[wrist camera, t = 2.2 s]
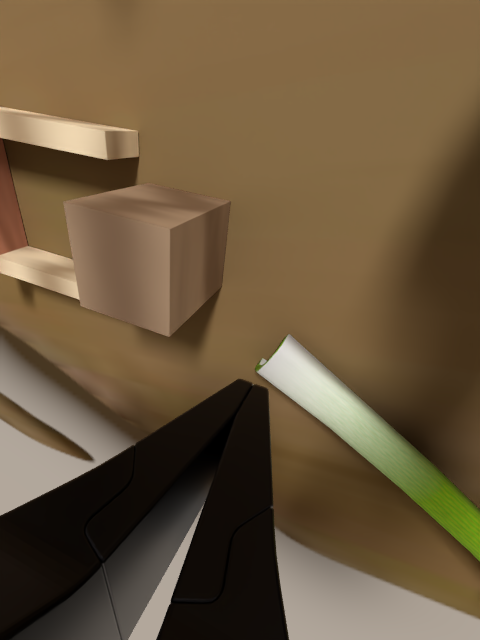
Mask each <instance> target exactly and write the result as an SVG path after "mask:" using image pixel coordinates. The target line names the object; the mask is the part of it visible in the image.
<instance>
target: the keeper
mask: <svg viewBox="0 0 480 640" xmlns="http://www.w3.org/2000/svg"><path fill="white" fill-rule="evenodd" d="M63 203H64V209H65V215H66V221H67V227H68V233H69V239H70V245H71V251H72V257H73V263H74V269H75V275H76V281H77V287H78V293H79V299H80V305H81V306H82V307H85V308H87V309H90V310H93V311H96V312H99V313H102V314H105V315H108V316H110V317H113V318H116V319H119V320H122V321H125V322H128V323H131V324H133V325H136V326H139V327H142V328H145V329H148V330H151V331H153V332H156V333H159V334H162V335H165V336H168V337H170V336H171V335H172V334H173V333H174V332H175V331H176V330H177V329H178V328H179V327H180V326H181V325H182V324H183V323H184V322H185V321H187V320H188V319H189V318H190V317H191V316H192V315H193V314H194V313H195V312H196V311H197V310H198V309H199V308H200V307H201V306H202V305H203V304H204V303H205V302H206V301H207V300H208V299H209V298H210V297H211V296H212V295H213V294H214V293H216V292H217V291H218V290H219V289H220V288H221V287H222V280H223V270H224V261H225V251H226V242H227V232H228V223H229V213H230V204H231V201H228V200H223V199H219V198H214V197H210V196H205V195H201V194H196V193H192V192H187V191H183V190H178V189H174V188H169V187H165V186H160V185H156V184H151V183H145V184H141V185H136V186H132V187H127V188H123V189H118V190H114V191H109V192H105V193H100V194H96V195H91V196H86V197H82V198H77V199H73V200H68V201H64V202H63Z"/></svg>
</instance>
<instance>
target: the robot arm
mask: <svg viewBox="0 0 480 640" xmlns="http://www.w3.org/2000/svg"><path fill="white" fill-rule="evenodd" d="M205 500H206V501H205ZM204 502H205V503H204ZM203 504H204V507H203V509H202V512H201V515H200V518H199V521H198V524H197V526H196V529H195V532H194V535H193V538H192V541H191V544H190V547H189V550H188V552H187V555H186V558H185V561H184V564H183V567H182V570H181V573H180V575H179V578H178V581H177V584H176V587H175V589H174V592H173V595H172V598H171V604H170V605H169V607H168V610H167V612H166V615H165V618H164V621H163V624H162V626H161V629H160V631H159V634H158V637H157V639H156V640H289V637H288V630H287V624H286V618H285V611H284V606H283V599H282V593H281V586H280V579H279V571H278V563H277V556H276V543H275V529H274V510H273V487H272V463H271V439H270V415H269V391H268V389H267V388H265V387H262V386H260V385H257V384H254V385H253V384H252V383H251V382H249V381H246V380H243V379H238V380H236V381H234V382H233V383H231V384H230V385H228V386H226V387H225V388H223V389H222V390H220V391H218V392H217V393H215V394H214V395H212V396H210V397H209V398H207V399H206V400H204V401H203V402H201V403H199V404H198V405H196V406H195V407H193V408H191V409H190V410H188V411H187V412H185V413H183V414H182V415H180V416H179V417H177V418H175V419H174V420H172V421H171V422H169V423H167V424H166V425H164V426H163V427H161V428H159V429H158V430H156V431H155V432H153V433H152V434H150V435H148V436H147V437H145V438H144V439H142V440H141V441H139V442H137V443H136V445H135V446H134V445H132V446H131V447H129V448H127V449H126V450H124V451H123V452H121V453H119V454H118V455H116V456H114V457H113V458H111V459H109V460H108V461H106V462H105V463H103V464H101V465H99V466H97V467H96V468H94V469H92V470H90V471H88V472H86V473H84V474H82V475H81V476H79V477H77V478H75V479H73V480H71V481H69V482H67V483H65V484H63V485H61V486H59V487H57V488H55V489H53V490H51V491H49V492H47V493H45V494H43V495H41V496H39V497H37V498H35V499H33V500H31V501H29V502H27V503H25V504H23V505H21V506H19V507H17V508H15V509H13V510H11V511H9V512H8V513H5V514H3V515H1V516H0V640H128V638H129V637H130V635H131V633H132V631H133V629H134V627H135V626H136V624H137V622H138V620H139V619H140V617H141V615H142V613H143V611H144V610H145V608H146V606H147V604H148V602H149V601H150V599H151V597H152V595H153V594H154V592H155V590H156V588H157V586H158V585H159V583H160V581H161V579H162V577H163V576H164V574H165V572H166V570H167V568H168V567H169V565H170V563H171V561H172V559H173V558H174V556H175V554H176V552H177V551H178V549H179V547H180V545H181V543H182V542H183V540H184V538H185V536H186V534H187V533H188V531H189V529H190V527H191V525H192V524H193V522H194V520H195V518H196V516H197V515H198V513H199V511H200V509H201V507H202V506H203Z"/></svg>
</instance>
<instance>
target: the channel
mask: <svg viewBox="0 0 480 640" xmlns="http://www.w3.org/2000/svg"><path fill="white" fill-rule="evenodd" d="M2 138H4V139H9V140H14V141H19V142H24V143H28V144H33V145H38V146H43V147H48V148H52V149H57V150H62V151H67V152H71V153H76V154H81V155H86V156H91V157H95V158H100V159H105V160H112V159H121V158H131V157H139V143H138V131H134V130H129V129H123V128H118V127H112V126H106V125H101V124H95V123H90V122H84V121H78V120H73V119H67V118H62V117H56V116H50V115H45V114H39V113H33V112H28V111H22V110H17V109H11V108H5V107H0V273H3V274H6V275H9V276H12V277H14V278H17V279H20V280H23V281H26V282H29V283H32V284H35V285H38V286H41V287H44V288H47V289H50V290H53V291H56V292H59V293H61V294H64V295H67V296H70V297H73V298H76V299H79V293H78V287H77V281H76V275H75V269H74V263H73V259H69V258H66V257H63V256H59V255H56V254H53V253H50V252H46V251H43V250H40V249H37V248H33V247H30V246H28V243H27V239H26V235H25V231H24V227H23V223H22V218H21V214H20V210H19V206H18V202H17V198H16V194H15V189H14V185H13V181H12V177H11V173H10V169H9V165H8V160H7V156H6V152H5V148H4V144H3V140H2ZM79 300H80V299H79Z"/></svg>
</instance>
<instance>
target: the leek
mask: <svg viewBox="0 0 480 640" xmlns="http://www.w3.org/2000/svg"><path fill="white" fill-rule="evenodd" d="M255 370H256V372H257V373H258V374H260V375H261V376H262V377H264V378H265V379H266V380H268V381H269V382H270V383H271V384H273V385H274V386H275V387H277V388H278V389H279V390H281V391H282V392H283V393H285V394H286V395H287V396H288V397H290V398H291V399H292V400H294V401H295V402H296V403H298V404H299V405H300V406H302V407H303V408H304V409H305V410H307V411H308V412H309V413H311V414H312V415H313V416H315V417H316V418H317V419H319V420H320V421H321V422H323V423H324V424H325V425H326V426H328V427H329V428H330V429H331V430H333V431H334V432H335V433H336V434H337V435H338V436H340V437H341V438H342V439H343V440H344V441H346V442H347V443H348V444H349V445H350V446H351V447H353V448H354V449H355V450H356V451H357V452H358V453H360V454H361V455H362V456H363V457H364V458H366V459H367V460H368V461H369V462H370V463H371V464H373V465H374V466H375V467H376V468H377V469H378V470H380V471H381V472H382V473H383V474H384V475H386V476H387V477H388V478H389V479H390V480H391V481H393V482H394V483H395V484H396V485H397V486H398V487H400V488H401V489H402V490H403V491H404V492H405V493H406V494H407V495H409V496H410V497H411V498H412V499H413V500H414V501H415V502H416V503H417V504H418V505H419V506H421V507H422V508H423V509H424V510H425V511H426V512H427V513H428V514H429V515H430V516H431V517H433V518H434V519H435V520H436V521H437V522H438V523H439V524H440V525H441V526H442V527H443V528H445V529H446V530H447V531H448V532H449V533H450V534H451V535H452V536H453V537H454V538H455V539H457V540H458V541H459V542H460V543H461V544H462V545H463V546H464V547H465V548H466V549H467V550H469V551H470V552H471V553H472V554H473V555H474V557H475V558H476V559H477V560H478V561H479V562H480V510H479V509H478V508H477V507H476V506H475V505H474V504H473V503H472V502H471V501H470V500H469V499H468V498H467V497H466V496H465V495H464V494H463V493H462V492H461V491H460V490H459V489H458V488H457V487H456V486H455V485H454V484H453V483H452V482H451V481H450V480H449V479H448V478H447V477H446V476H445V475H444V474H443V473H442V472H441V471H439V470H438V469H437V468H436V467H435V466H434V465H433V464H432V463H431V462H430V461H429V460H428V459H427V458H426V457H425V456H424V455H422V454H421V453H420V452H419V451H418V450H417V449H416V448H415V447H414V446H412V445H411V444H410V443H409V442H408V441H407V440H406V439H405V438H404V437H403V436H401V435H400V434H399V433H398V432H397V431H396V430H395V429H394V428H393V427H392V426H390V425H389V424H388V423H387V422H386V421H385V420H384V419H383V418H382V417H381V416H379V415H378V414H377V413H376V412H375V411H374V410H373V409H372V408H371V407H370V406H368V405H367V404H366V403H365V402H364V401H363V400H362V399H361V398H360V397H359V396H357V395H356V394H355V393H354V392H353V391H352V390H351V389H350V388H349V387H347V386H346V385H345V384H344V383H343V382H342V381H341V380H340V379H339V378H337V377H336V376H335V375H334V374H333V373H332V372H331V371H330V370H329V369H327V368H326V367H325V366H324V365H323V364H322V363H321V362H320V361H319V360H317V359H316V358H315V357H314V356H313V355H312V354H311V353H310V352H309V351H307V350H306V349H305V348H304V347H303V346H302V345H301V344H300V343H299V342H297V341H296V340H295V339H294V338H293V337H292V336H291V335H290V334H288V335H287V336H286V337H285V338H284V339H283V340H282V342H281V344H280V345H279V347H278V349H277V350H276V351H275V352H274V354H273V355H272V356H271V357H270V359H269V360H265V359H263V358H262V360H261V361H260V362H259V363H258V364H257V366H256V368H255Z"/></svg>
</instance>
